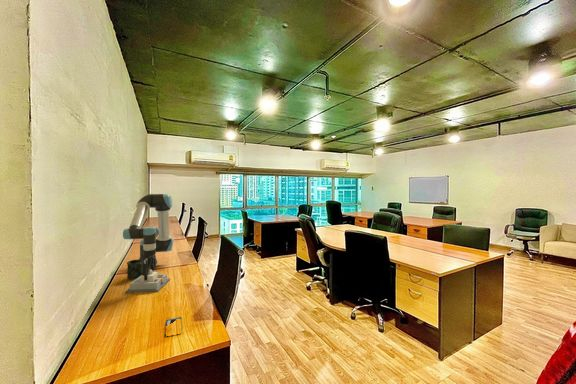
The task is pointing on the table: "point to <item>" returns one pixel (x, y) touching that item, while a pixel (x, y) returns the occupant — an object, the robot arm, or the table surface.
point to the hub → (152, 278)
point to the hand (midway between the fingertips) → (149, 282)
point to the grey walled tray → (147, 285)
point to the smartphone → (171, 320)
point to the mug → (134, 269)
